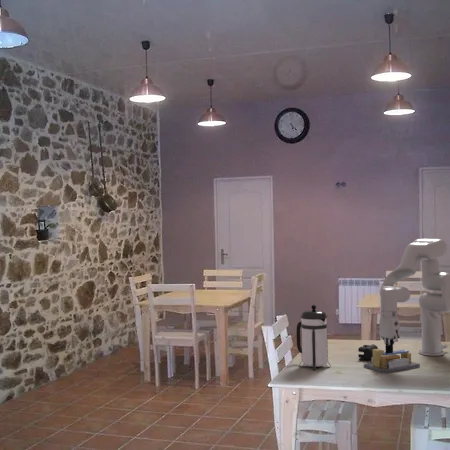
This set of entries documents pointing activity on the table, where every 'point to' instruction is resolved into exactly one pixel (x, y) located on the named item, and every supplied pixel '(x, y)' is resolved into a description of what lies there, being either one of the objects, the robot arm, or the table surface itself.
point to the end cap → (366, 352)
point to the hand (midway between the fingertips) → (389, 352)
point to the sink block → (390, 362)
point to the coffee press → (313, 338)
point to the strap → (395, 352)
